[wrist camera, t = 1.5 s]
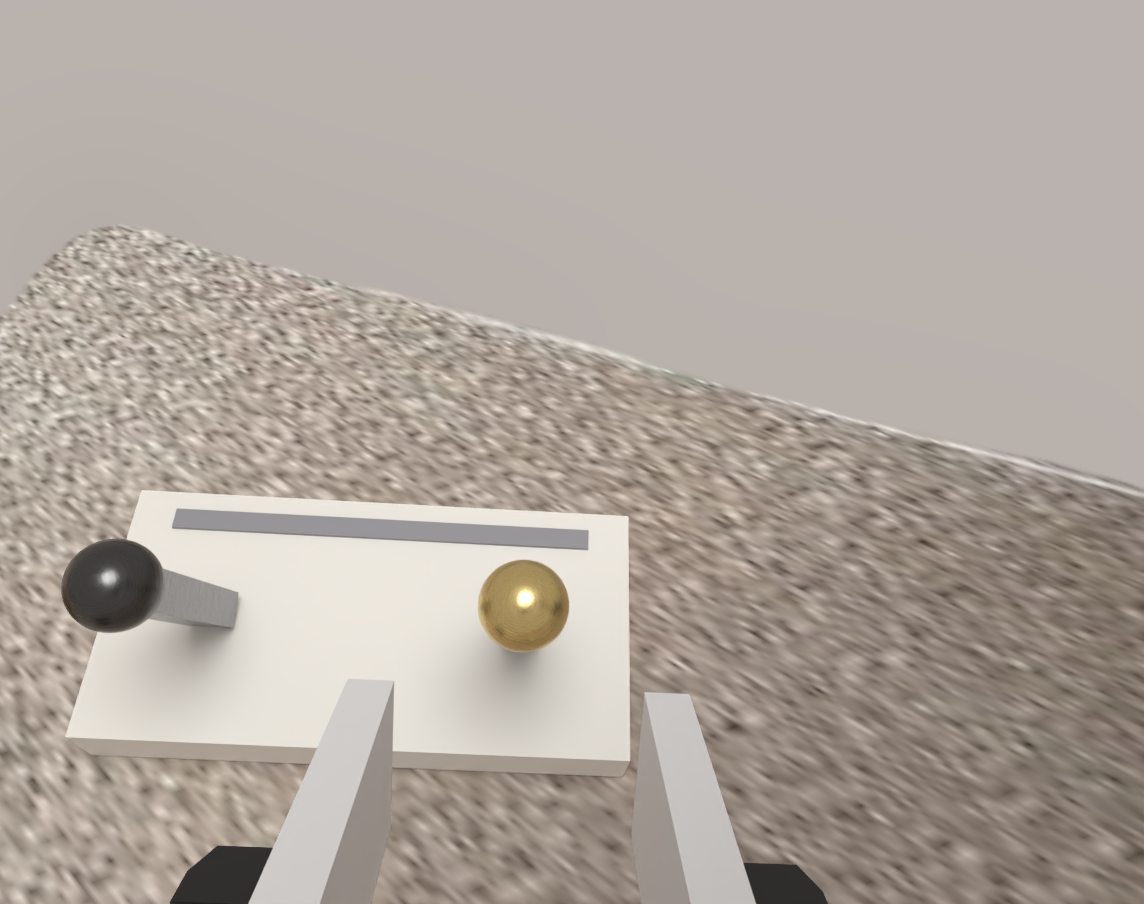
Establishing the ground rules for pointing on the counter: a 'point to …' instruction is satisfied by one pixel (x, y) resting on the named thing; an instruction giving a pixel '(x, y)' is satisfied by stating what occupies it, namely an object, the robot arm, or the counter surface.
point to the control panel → (367, 637)
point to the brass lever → (523, 606)
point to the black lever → (138, 591)
